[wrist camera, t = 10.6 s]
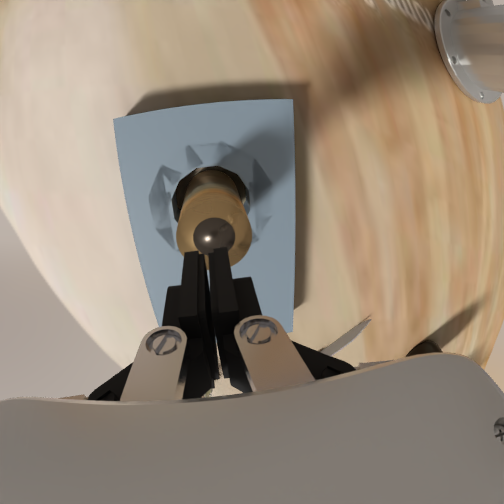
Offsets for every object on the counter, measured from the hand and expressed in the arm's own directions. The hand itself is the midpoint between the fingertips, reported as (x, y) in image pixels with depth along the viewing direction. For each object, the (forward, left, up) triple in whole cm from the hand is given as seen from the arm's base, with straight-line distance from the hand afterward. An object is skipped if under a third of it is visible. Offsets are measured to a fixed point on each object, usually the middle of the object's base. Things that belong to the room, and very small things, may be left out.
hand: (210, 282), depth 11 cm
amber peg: (0, 0, -12) cm, 12 cm away
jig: (+3, 0, -12) cm, 12 cm away
